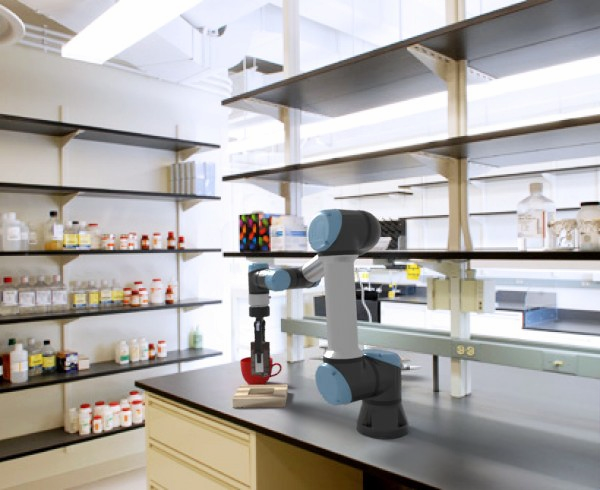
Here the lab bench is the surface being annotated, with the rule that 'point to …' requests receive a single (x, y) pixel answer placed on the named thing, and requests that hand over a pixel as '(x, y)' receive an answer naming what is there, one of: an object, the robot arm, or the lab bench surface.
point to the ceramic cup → (254, 379)
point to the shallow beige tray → (260, 396)
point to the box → (265, 359)
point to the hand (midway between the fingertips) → (260, 369)
